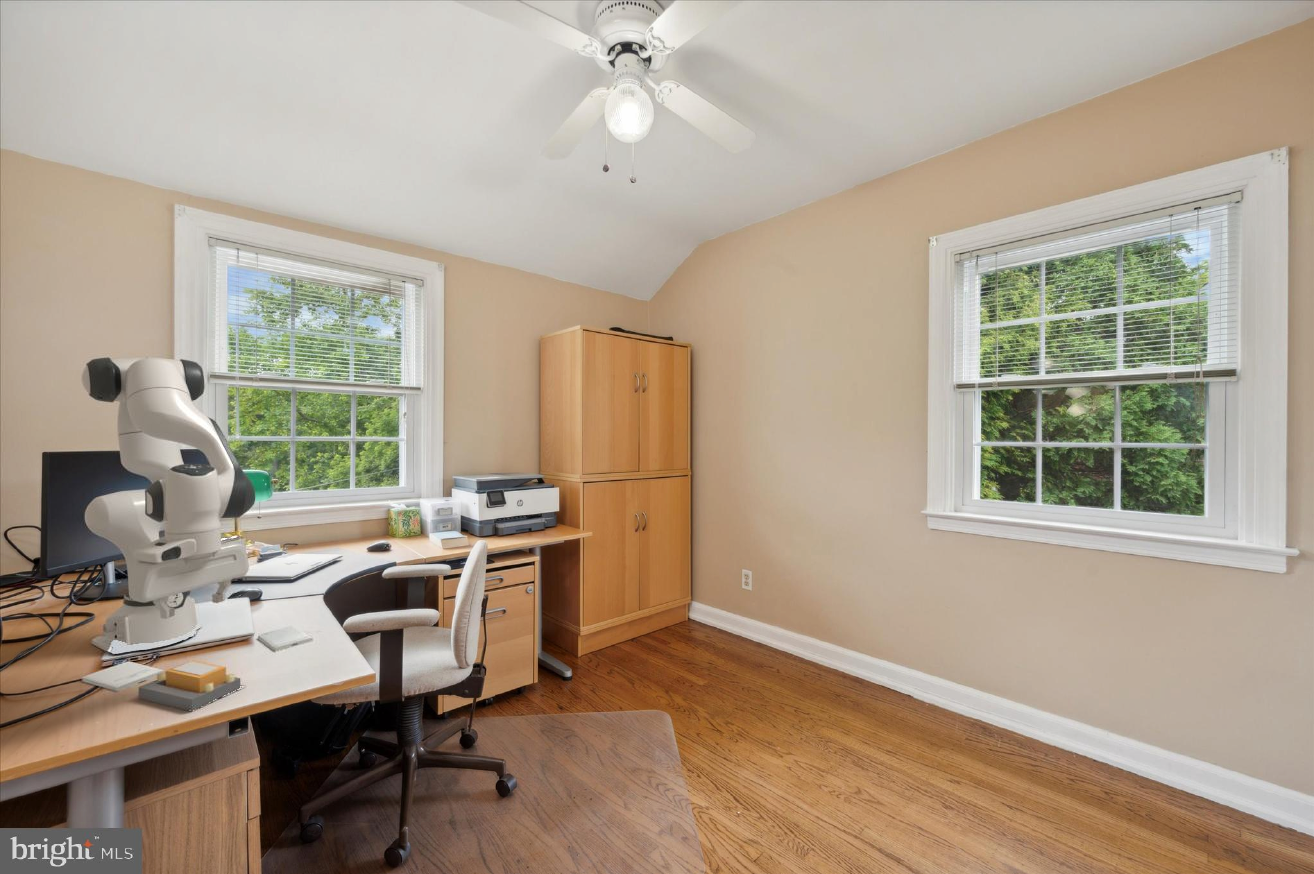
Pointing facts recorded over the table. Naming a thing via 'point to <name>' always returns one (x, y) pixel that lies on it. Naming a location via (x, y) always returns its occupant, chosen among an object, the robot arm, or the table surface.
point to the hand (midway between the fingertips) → (194, 609)
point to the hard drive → (284, 638)
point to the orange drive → (195, 676)
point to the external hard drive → (122, 676)
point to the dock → (186, 693)
